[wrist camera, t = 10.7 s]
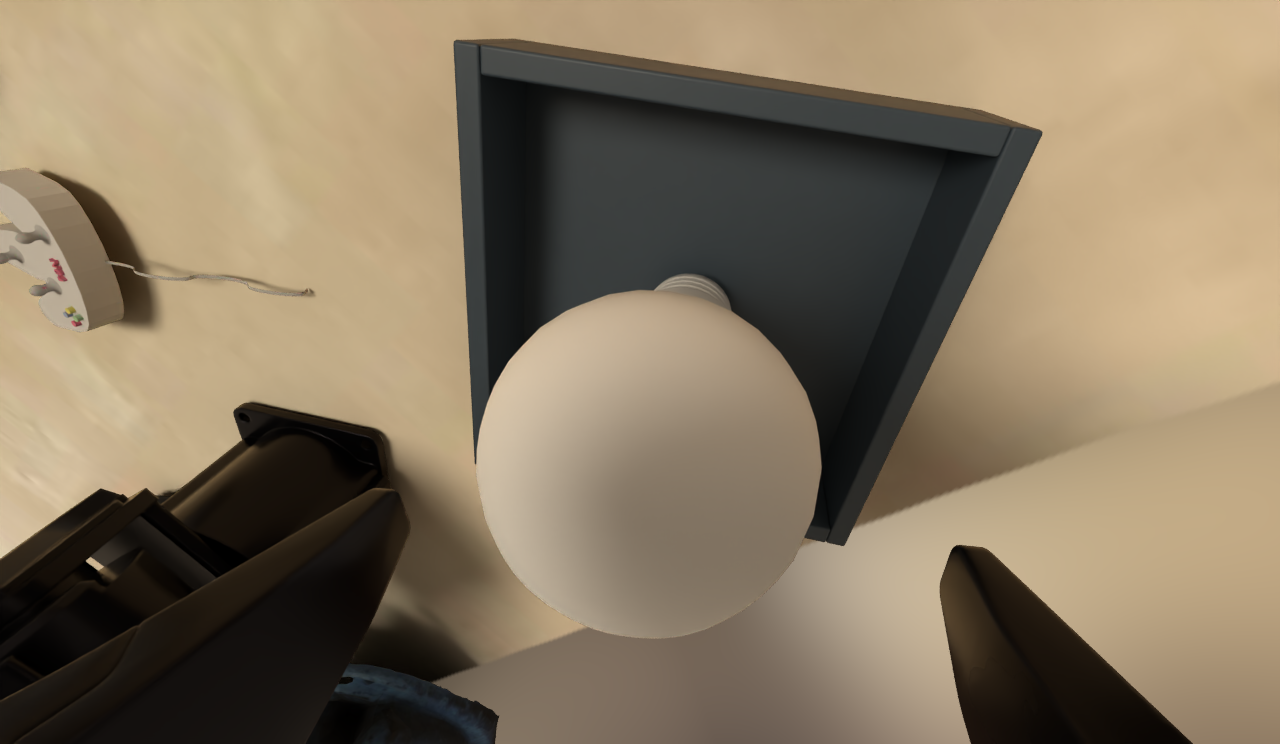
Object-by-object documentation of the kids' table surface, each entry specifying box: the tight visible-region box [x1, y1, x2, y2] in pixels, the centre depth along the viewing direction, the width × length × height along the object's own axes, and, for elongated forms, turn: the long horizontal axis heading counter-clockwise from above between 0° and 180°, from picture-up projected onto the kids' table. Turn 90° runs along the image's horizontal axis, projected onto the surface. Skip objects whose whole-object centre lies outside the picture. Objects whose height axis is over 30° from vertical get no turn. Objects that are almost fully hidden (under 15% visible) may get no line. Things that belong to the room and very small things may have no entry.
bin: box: [454, 39, 1042, 546], centre depth 16 cm, size 12×12×4 cm
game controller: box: [0, 168, 308, 332], centre depth 19 cm, size 6×12×3 cm, turn 100°
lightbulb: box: [476, 273, 822, 638], centre depth 12 cm, size 6×6×11 cm
